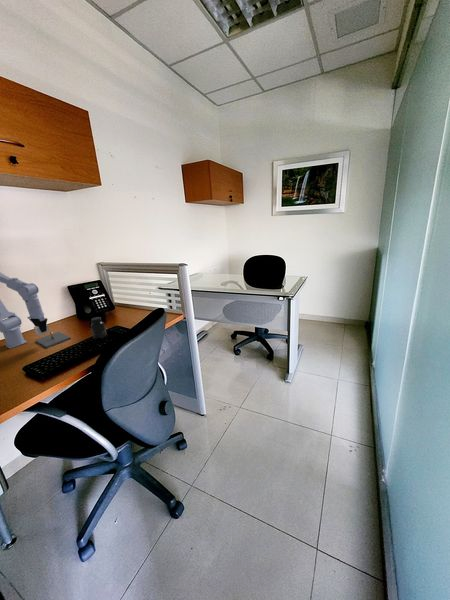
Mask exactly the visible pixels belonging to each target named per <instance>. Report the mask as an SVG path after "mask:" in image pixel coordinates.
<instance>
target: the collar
mask: <svg viewBox="0 0 450 600" xmlns="http://www.w3.org/2000/svg"><path fill="white" fill-rule="evenodd" d="M46 328H47V331H45V332H41V331H40V329H39V327H38V326H36V327H35V326H33V330H34V333H35V335H37V336H39V337H40V336H43V335H46V334H48V333H49V334H50V332H51V330H50V328H49V325H48V324H46Z"/></svg>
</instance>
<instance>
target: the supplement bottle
mask: <svg viewBox="0 0 450 600" xmlns="http://www.w3.org/2000/svg"><path fill="white" fill-rule="evenodd" d="M90 322H91V324H90V330H91V333H92V337H93V339H94V338H95V339H97V338H103V337H105V336H106V335H107V334H108V333H107V329H106V324H105V322H104V321H102V318H101V317H100V316H96V317H93V318H91V320H90ZM107 336H108V335H107Z"/></svg>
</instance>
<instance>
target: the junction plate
mask: <svg viewBox="0 0 450 600" xmlns="http://www.w3.org/2000/svg"><path fill="white" fill-rule="evenodd" d="M69 340H71V336H69V335H67V334H64V333H63V332H61V331H57V332H54V333H53V331H50V332H49V334H48V335H45V336H43V337H42V336H41V337H39V338H37V339H35V342H36V343H38V344H40V345H41V346H43V347H44V348H46V349H49V348H52V347H54V346H56V345H59V344H61V343H63V342H66V341H69Z"/></svg>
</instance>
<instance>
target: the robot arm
mask: <svg viewBox="0 0 450 600" xmlns="http://www.w3.org/2000/svg"><path fill="white" fill-rule="evenodd" d="M0 283H2V284H5V285H6V288H9V289H10V290H13V291H14V292H17V293H18V295H19V297H21V298H22V301H24V303H25V306H26V309H27V311H28V314H29V316H27V319H28V320H29V321H30V322H31V323H32V324H33V326H34V327H36V326H38V327H39V329H40V331H41V332H45V331H47V328H46V325H47V323H48V318H47V317H45V313H44V312H43V308H42V305H41V302H40V299H39V296H38V293H39V292H40V291H39V287H38V286H37V285H36V284H35V283H32V282H31V283H27V282H25V281H23V280H20V279H19V278H18V277H9V276H7V275H5V274H4V273H2V272H0ZM22 322H23V321H22V319H21V318H20V317H19V316H18V315H17V314H16V313H15V312H12V311H9V310H8V309H7V307H6V305H5V304H4V302H3V301H2V300H1V299H0V333H1V334H3V336H4V340H5V342H6V343H4V345H5V346H6V347H7V348H9V349H14V348H15V347H18V346H21V345H23V344H24V345H25V344H28V341H27V340H26V339H24V336H23V334H22V331H21V325H22Z"/></svg>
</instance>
